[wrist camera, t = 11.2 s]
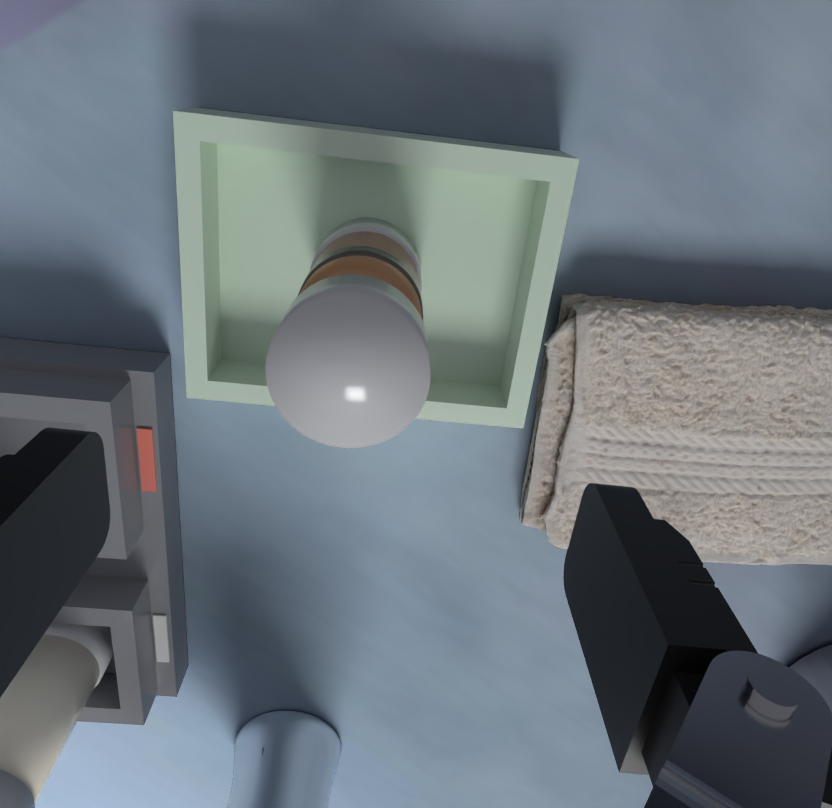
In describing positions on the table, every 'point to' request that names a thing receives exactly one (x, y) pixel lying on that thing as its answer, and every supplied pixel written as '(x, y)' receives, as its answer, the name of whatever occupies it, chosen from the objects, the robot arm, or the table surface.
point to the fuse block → (114, 506)
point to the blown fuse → (354, 340)
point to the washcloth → (690, 423)
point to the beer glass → (284, 762)
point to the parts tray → (368, 198)
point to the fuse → (47, 706)
